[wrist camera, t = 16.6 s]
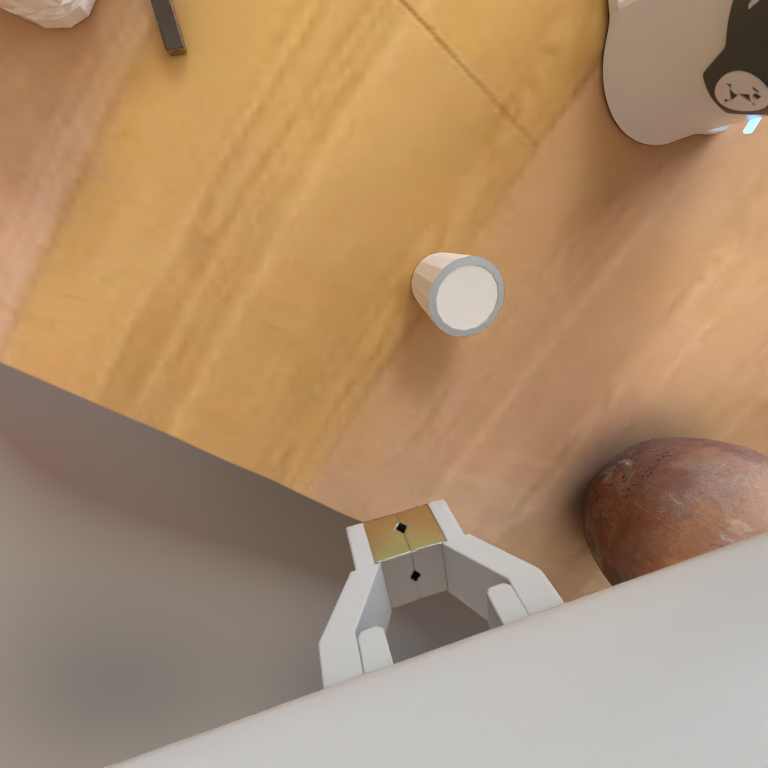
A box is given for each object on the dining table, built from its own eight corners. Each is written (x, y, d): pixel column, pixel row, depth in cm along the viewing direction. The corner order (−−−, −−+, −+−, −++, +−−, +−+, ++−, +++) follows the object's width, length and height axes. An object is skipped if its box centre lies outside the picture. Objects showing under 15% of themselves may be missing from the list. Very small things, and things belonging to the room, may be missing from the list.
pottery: (604, 564, 68) (770, 749, 45) (520, 495, 57) (682, 689, 35) (721, 461, 65) (960, 605, 42) (654, 368, 54) (924, 493, 32)
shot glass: (393, 302, 43) (415, 322, 37) (423, 233, 41) (451, 242, 35) (452, 325, 45) (482, 347, 39) (483, 261, 43) (519, 274, 37)
